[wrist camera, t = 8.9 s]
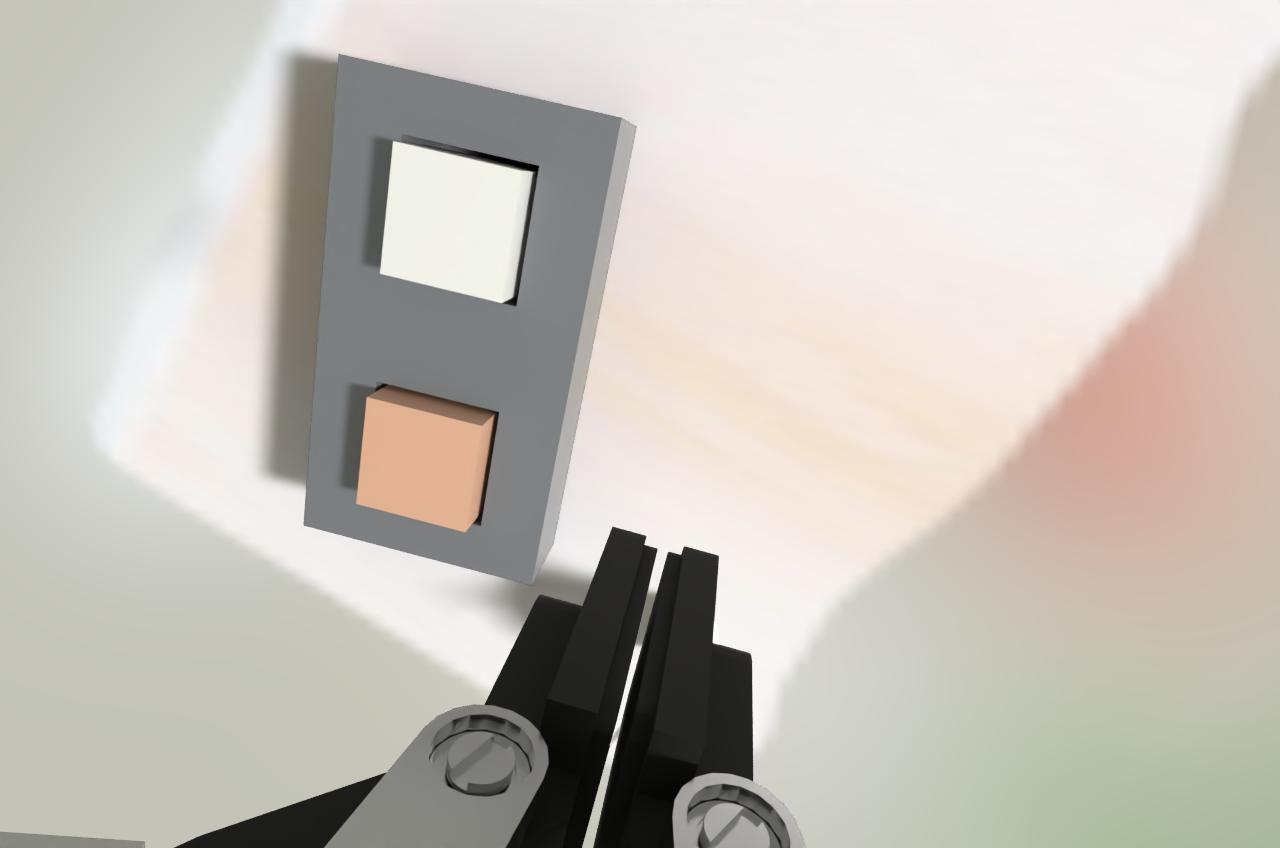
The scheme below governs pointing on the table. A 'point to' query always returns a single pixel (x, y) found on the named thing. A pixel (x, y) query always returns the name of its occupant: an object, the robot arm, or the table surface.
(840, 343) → the table surface
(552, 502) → the key panel
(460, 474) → the clay key
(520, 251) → the white square block
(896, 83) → the table surface
